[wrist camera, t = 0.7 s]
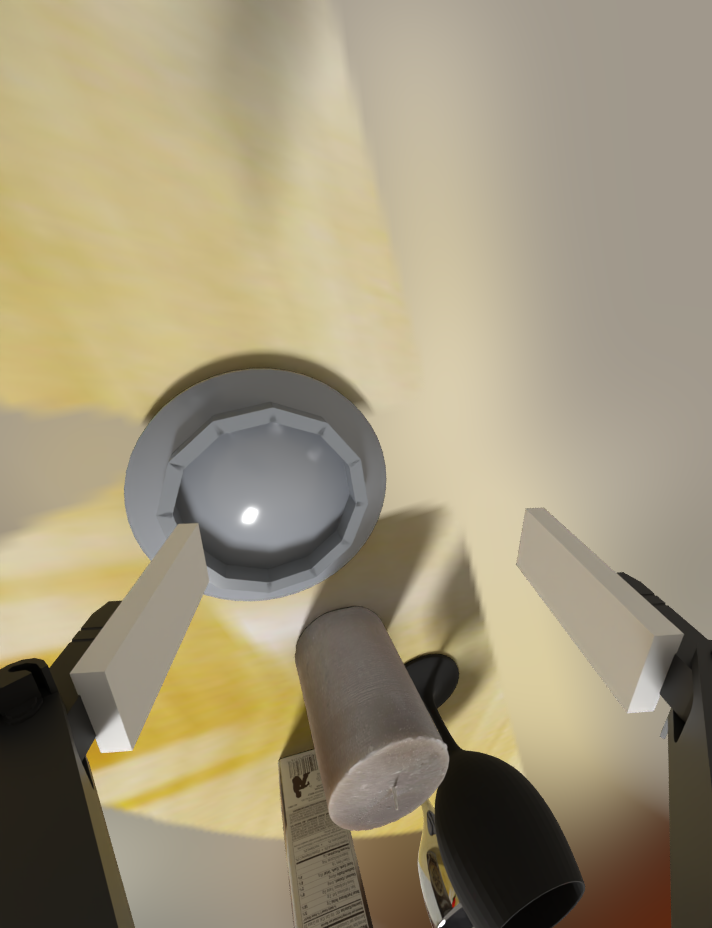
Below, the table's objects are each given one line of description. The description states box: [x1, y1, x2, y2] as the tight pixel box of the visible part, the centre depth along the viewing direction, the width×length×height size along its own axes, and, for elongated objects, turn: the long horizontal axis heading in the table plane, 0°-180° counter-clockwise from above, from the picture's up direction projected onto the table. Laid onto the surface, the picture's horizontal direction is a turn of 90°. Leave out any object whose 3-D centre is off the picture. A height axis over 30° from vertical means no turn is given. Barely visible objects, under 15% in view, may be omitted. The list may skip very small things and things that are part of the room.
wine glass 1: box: [418, 799, 475, 928], centre depth 45 cm, size 8×8×15 cm
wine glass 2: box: [404, 654, 585, 928], centre depth 38 cm, size 10×10×20 cm
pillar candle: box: [295, 607, 449, 831], centre depth 33 cm, size 10×10×15 cm
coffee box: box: [278, 749, 373, 928], centre depth 39 cm, size 9×6×16 cm
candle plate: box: [124, 368, 386, 601], centre depth 30 cm, size 20×20×3 cm
